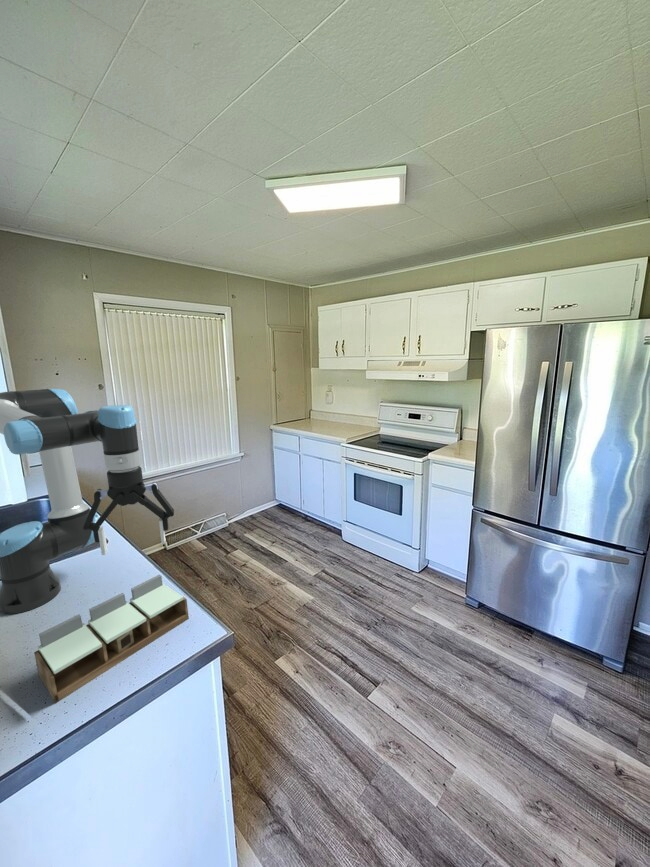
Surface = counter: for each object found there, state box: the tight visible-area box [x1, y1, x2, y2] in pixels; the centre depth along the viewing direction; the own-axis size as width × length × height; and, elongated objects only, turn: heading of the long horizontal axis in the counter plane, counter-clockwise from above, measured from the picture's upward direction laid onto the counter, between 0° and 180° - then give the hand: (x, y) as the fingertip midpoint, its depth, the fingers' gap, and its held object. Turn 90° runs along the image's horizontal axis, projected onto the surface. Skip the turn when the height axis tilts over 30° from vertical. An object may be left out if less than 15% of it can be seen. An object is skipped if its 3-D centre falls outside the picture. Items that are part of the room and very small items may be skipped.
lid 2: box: [87, 592, 146, 644], centre depth 89 cm, size 11×9×4 cm
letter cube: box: [109, 630, 134, 653], centre depth 90 cm, size 4×4×4 cm
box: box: [33, 588, 190, 704], centre depth 90 cm, size 12×31×7 cm, turn 142°
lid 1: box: [37, 613, 102, 674], centre depth 81 cm, size 11×9×4 cm
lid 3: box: [129, 574, 184, 619], centre depth 97 cm, size 11×9×4 cm
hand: (134, 547), depth 91 cm, fingers open, 13 cm apart
